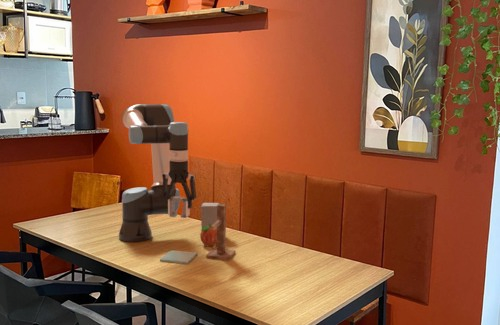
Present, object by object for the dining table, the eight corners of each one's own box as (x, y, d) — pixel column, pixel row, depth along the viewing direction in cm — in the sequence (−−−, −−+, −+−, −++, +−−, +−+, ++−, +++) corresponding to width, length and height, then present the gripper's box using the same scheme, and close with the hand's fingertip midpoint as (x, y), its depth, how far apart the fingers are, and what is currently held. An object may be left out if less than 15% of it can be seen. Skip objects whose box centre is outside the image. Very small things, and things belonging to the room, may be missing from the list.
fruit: (223, 244, 230) (223, 223, 229) (208, 249, 223) (208, 227, 222) (210, 240, 236) (211, 220, 234) (195, 245, 229) (195, 223, 228)
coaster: (159, 261, 207) (159, 259, 207) (171, 252, 219) (171, 250, 219) (187, 263, 205) (187, 262, 205) (197, 254, 216) (197, 252, 216)
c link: (169, 216, 208) (169, 197, 207) (172, 214, 211) (172, 196, 210) (185, 217, 207) (185, 198, 206) (188, 216, 210) (188, 197, 209)
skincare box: (220, 233, 247) (220, 202, 245) (217, 238, 240) (218, 205, 238) (203, 233, 248) (203, 201, 246) (200, 237, 241) (200, 205, 238)
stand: (200, 263, 205) (200, 211, 202) (213, 250, 222) (213, 201, 219) (224, 266, 203) (224, 213, 200) (235, 252, 220) (236, 203, 216)
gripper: (152, 160, 204) (152, 215, 208) (199, 162, 200) (198, 219, 203) (159, 157, 212) (160, 211, 215) (205, 160, 207) (204, 214, 210)
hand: (178, 214), depth 209 cm, fingers closed on c link, 7 cm apart
